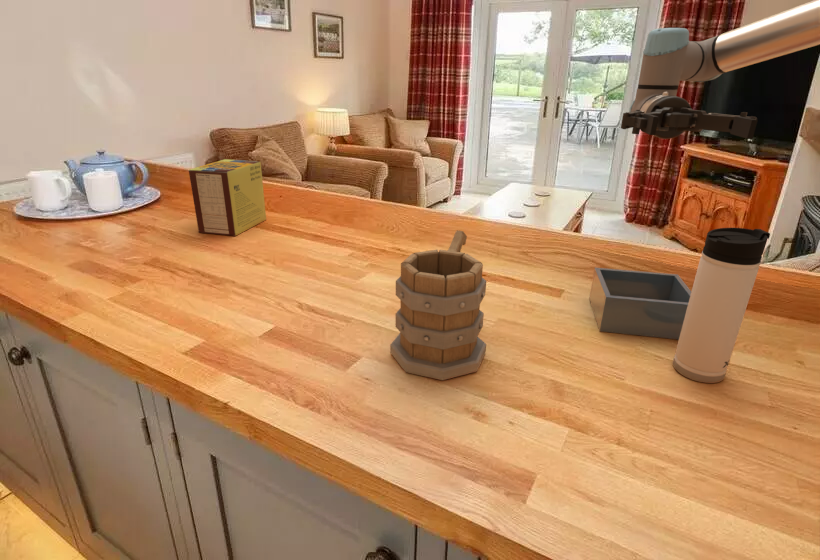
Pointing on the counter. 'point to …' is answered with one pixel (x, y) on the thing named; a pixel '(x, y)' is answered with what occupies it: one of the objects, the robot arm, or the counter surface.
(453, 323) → the tankard
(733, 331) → the travel mug
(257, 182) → the protein box
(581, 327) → the counter surface
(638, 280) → the holder
